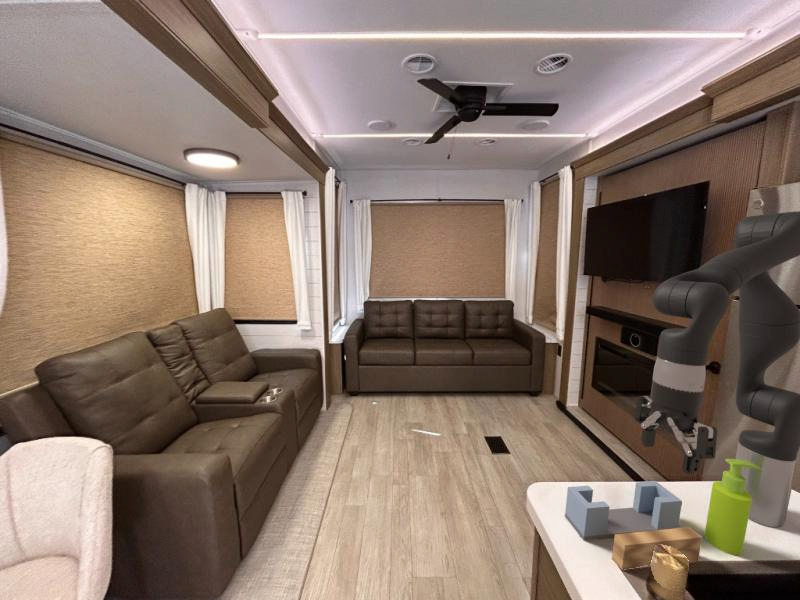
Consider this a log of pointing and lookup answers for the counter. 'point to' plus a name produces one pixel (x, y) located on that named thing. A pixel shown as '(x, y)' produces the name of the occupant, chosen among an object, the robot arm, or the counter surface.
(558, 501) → the counter surface
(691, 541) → the slat
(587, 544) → the counter surface
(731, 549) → the soap dispenser
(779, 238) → the robot arm
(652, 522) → the end caps
